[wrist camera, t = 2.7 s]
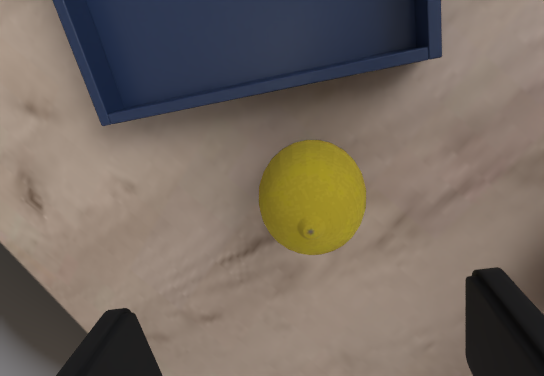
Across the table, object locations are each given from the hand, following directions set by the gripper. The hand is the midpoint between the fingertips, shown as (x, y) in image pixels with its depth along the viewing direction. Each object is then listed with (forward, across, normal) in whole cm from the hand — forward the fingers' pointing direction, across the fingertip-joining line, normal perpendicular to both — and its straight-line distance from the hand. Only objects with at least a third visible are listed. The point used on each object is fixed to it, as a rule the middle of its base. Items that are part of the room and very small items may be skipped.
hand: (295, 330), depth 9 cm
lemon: (+13, -1, 0) cm, 13 cm away
